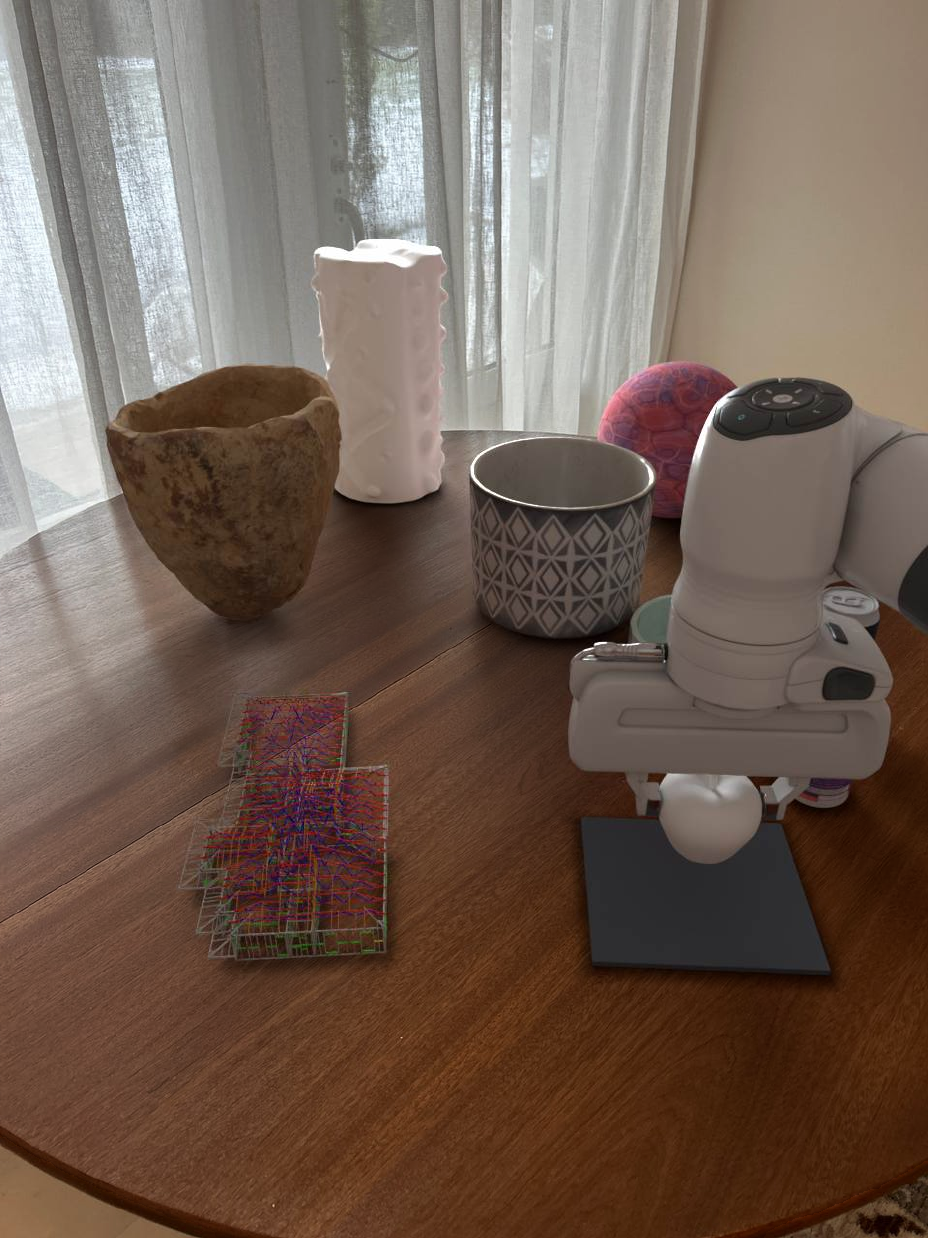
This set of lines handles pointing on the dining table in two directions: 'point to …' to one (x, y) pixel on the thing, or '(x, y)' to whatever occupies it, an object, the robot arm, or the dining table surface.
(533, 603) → the planter
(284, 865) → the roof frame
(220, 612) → the bowl
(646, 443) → the decorative sphere
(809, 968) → the mat
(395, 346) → the vase
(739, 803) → the plain white apple
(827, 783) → the pill bottle
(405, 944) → the dining table surface
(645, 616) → the fruit bowl
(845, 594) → the beverage can
